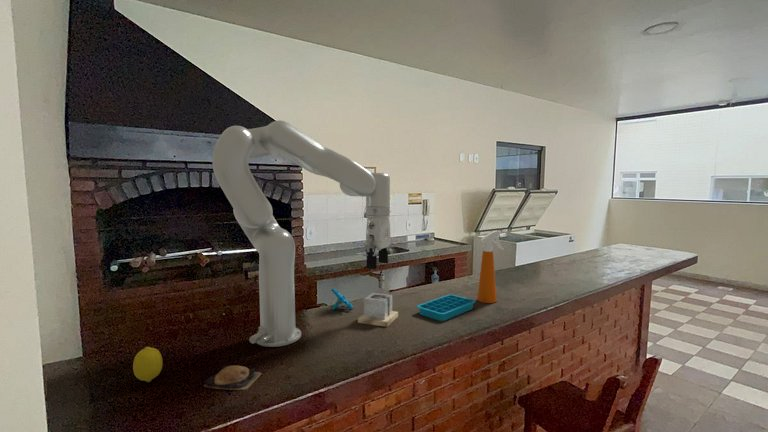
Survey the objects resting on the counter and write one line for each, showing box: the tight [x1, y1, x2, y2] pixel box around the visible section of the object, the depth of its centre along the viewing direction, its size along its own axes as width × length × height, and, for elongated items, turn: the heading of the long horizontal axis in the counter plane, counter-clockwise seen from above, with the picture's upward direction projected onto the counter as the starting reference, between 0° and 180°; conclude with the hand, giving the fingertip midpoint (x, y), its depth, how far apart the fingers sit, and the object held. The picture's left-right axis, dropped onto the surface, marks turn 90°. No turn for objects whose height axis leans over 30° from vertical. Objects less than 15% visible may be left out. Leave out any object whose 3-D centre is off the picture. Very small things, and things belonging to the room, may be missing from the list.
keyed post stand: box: [357, 297, 399, 328], centre depth 121 cm, size 10×10×7 cm
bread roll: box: [203, 364, 262, 391], centre depth 83 cm, size 11×8×4 cm
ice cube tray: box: [416, 294, 477, 322], centre depth 129 cm, size 12×20×3 cm, turn 135°
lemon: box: [132, 346, 163, 383], centre depth 82 cm, size 6×6×8 cm
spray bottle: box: [476, 230, 505, 304], centre depth 140 cm, size 7×11×26 cm, turn 112°
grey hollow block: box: [363, 292, 393, 320], centre depth 121 cm, size 7×7×6 cm
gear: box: [331, 288, 354, 311], centre depth 131 cm, size 11×6×10 cm
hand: (377, 265), depth 119 cm, fingers open, 9 cm apart
